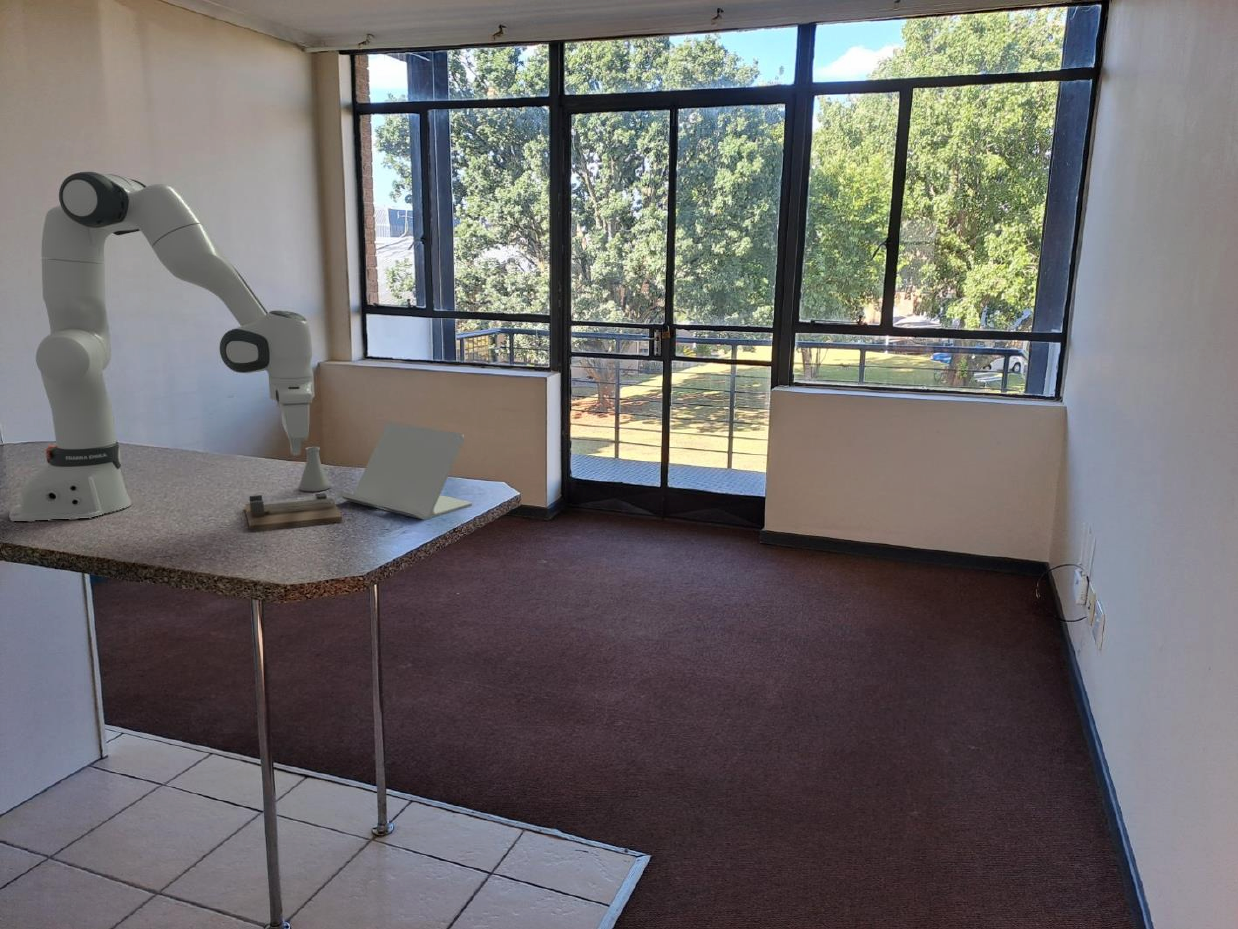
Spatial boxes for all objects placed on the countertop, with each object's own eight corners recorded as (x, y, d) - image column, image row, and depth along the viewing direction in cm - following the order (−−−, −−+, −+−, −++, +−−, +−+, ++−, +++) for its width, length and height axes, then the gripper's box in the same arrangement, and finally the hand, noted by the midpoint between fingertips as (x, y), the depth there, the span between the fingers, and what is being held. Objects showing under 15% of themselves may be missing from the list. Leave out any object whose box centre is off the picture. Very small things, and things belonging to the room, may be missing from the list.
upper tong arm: (252, 513, 183) (251, 503, 183) (251, 509, 187) (250, 499, 186) (332, 505, 190) (331, 496, 190) (330, 501, 193) (329, 492, 193)
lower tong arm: (252, 517, 182) (250, 502, 182) (250, 510, 188) (249, 495, 187) (334, 509, 189) (333, 495, 189) (330, 502, 194) (330, 488, 194)
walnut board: (249, 531, 177) (249, 525, 177) (245, 508, 193) (245, 503, 193) (342, 521, 184) (341, 516, 184) (330, 500, 200) (330, 495, 200)
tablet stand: (398, 488, 213) (395, 419, 209) (473, 506, 199) (472, 432, 195) (337, 504, 198) (332, 430, 194) (413, 524, 184) (410, 445, 181)
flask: (310, 494, 206) (308, 452, 204) (293, 489, 210) (290, 448, 208) (337, 488, 212) (334, 447, 209) (319, 483, 216) (316, 443, 214)
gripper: (272, 383, 192) (276, 445, 195) (279, 397, 174) (283, 465, 177) (303, 382, 194) (306, 443, 197) (312, 395, 176) (316, 462, 179)
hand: (295, 454), depth 187 cm, fingers closed
